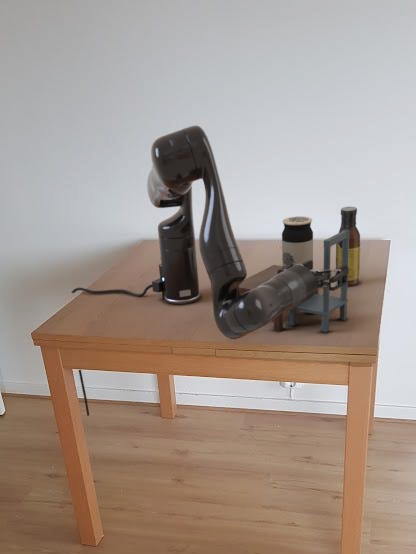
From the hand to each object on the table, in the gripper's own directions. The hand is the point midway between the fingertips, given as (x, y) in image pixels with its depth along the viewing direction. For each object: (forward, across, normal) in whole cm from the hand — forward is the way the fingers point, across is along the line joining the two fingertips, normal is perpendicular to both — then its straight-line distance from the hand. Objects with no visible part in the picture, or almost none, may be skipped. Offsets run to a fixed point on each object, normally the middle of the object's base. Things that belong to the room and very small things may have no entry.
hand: (328, 266), depth 148 cm
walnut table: (+4, +16, +15) cm, 22 cm away
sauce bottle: (+32, +12, +15) cm, 37 cm away
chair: (+4, +4, +15) cm, 16 cm away
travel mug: (+23, +22, +15) cm, 35 cm away
